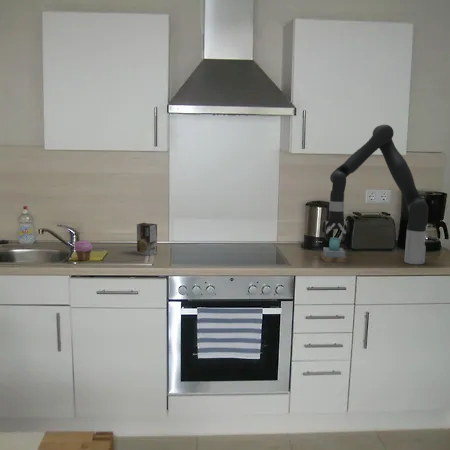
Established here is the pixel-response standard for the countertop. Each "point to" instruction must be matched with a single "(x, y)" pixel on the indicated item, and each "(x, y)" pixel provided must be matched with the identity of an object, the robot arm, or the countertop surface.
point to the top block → (334, 253)
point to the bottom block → (332, 258)
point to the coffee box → (147, 239)
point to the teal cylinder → (334, 244)
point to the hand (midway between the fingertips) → (334, 240)
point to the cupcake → (83, 250)
